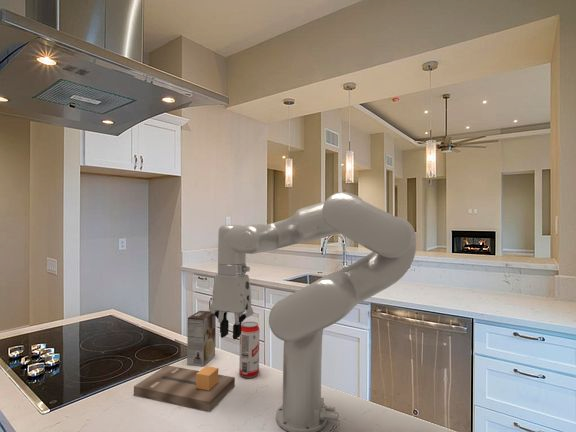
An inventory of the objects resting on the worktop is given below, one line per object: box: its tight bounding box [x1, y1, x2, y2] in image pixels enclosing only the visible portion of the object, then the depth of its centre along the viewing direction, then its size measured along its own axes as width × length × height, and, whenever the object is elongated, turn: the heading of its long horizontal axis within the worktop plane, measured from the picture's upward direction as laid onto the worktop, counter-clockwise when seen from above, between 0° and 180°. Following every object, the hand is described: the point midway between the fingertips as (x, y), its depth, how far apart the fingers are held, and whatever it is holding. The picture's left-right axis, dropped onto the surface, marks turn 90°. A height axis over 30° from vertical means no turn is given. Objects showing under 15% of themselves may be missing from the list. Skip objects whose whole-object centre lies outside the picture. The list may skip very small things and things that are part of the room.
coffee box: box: [186, 310, 216, 367], centre depth 115 cm, size 9×6×16 cm
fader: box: [196, 365, 219, 391], centre depth 92 cm, size 4×5×4 cm
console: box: [133, 365, 236, 413], centre depth 94 cm, size 24×14×3 cm, turn 72°
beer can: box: [238, 321, 261, 379], centre depth 105 cm, size 6×6×16 cm
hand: (230, 336), depth 90 cm, fingers open, 3 cm apart
